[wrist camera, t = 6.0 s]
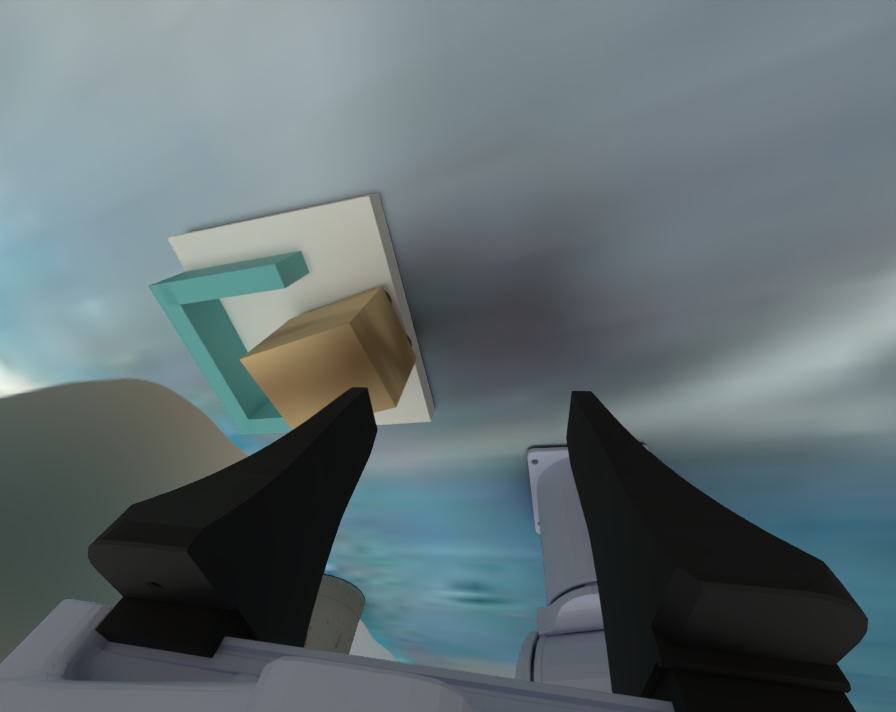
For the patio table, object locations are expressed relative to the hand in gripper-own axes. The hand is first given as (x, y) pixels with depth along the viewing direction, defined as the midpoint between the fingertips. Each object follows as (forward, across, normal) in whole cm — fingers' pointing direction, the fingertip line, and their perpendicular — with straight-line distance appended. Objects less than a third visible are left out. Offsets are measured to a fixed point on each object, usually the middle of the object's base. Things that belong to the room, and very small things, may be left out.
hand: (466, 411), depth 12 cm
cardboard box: (+8, +7, +1) cm, 11 cm away
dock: (+9, +10, +1) cm, 14 cm away
